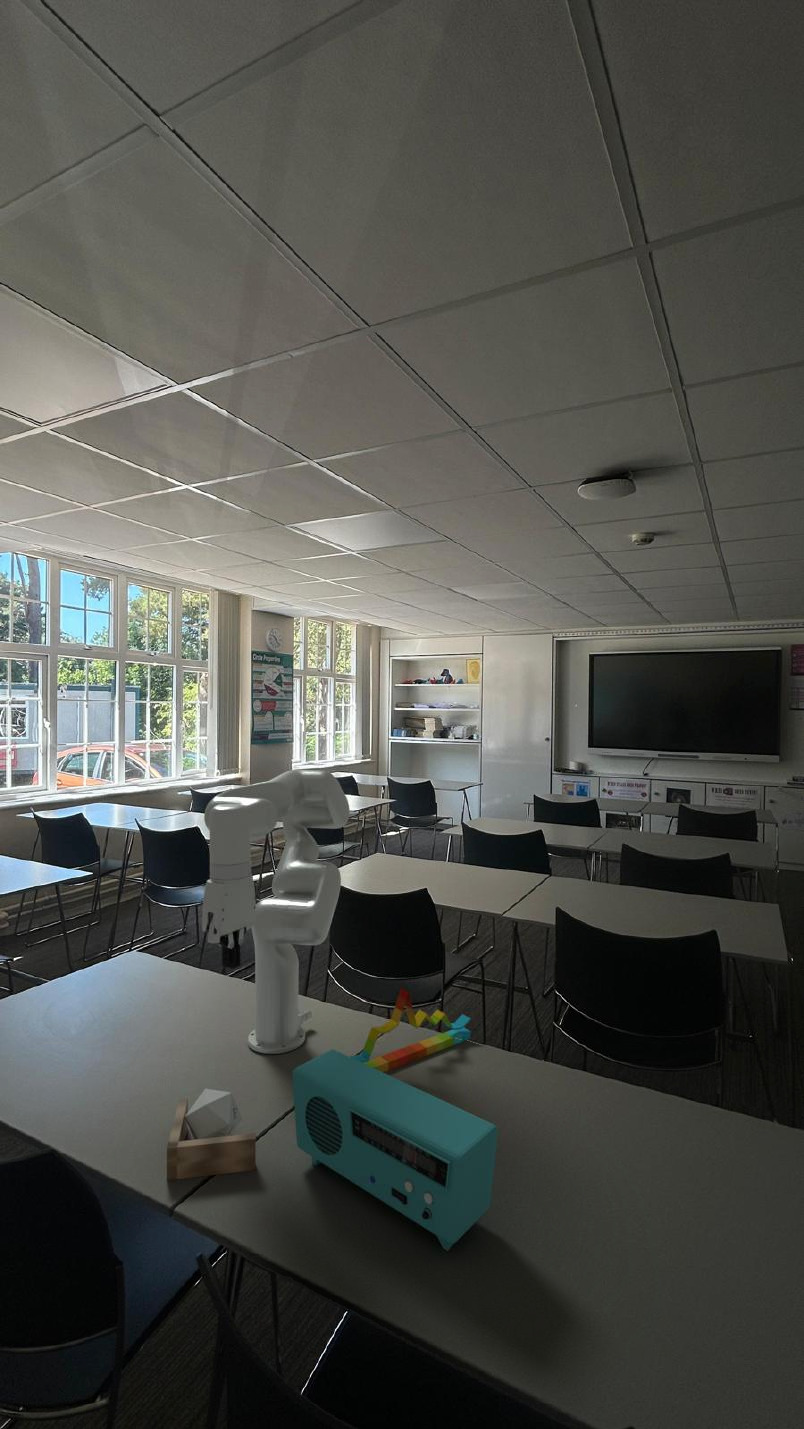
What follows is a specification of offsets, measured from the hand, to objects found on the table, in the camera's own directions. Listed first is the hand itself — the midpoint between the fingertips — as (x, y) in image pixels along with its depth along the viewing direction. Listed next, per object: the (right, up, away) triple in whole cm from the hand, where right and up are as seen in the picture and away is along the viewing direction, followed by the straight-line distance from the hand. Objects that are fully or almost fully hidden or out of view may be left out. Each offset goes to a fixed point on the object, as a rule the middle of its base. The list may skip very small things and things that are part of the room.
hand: (231, 965), depth 127 cm
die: (0, -25, -13) cm, 28 cm away
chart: (+35, -26, +16) cm, 46 cm away
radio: (+30, -26, -25) cm, 47 cm away
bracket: (-1, -25, -18) cm, 31 cm away
